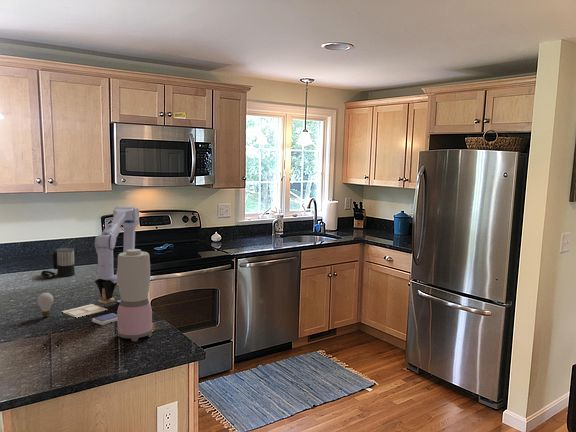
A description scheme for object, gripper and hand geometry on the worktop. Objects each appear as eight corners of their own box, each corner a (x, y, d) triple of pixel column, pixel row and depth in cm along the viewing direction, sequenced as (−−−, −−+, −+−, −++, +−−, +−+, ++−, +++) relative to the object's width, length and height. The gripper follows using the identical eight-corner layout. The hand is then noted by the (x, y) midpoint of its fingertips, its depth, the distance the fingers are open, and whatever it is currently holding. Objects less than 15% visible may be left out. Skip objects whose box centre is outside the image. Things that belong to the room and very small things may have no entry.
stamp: (107, 300, 191) (106, 286, 190) (114, 302, 189) (114, 287, 188) (97, 302, 187) (97, 288, 186) (105, 304, 185) (105, 290, 184)
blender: (159, 335, 174) (158, 250, 170) (129, 344, 164) (128, 254, 161) (135, 325, 184) (133, 245, 180) (106, 333, 174) (104, 249, 171)
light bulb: (38, 315, 193) (38, 291, 192) (54, 313, 195) (54, 290, 194) (36, 319, 188) (35, 295, 187) (53, 318, 190) (52, 294, 189)
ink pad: (112, 315, 194) (111, 312, 194) (122, 319, 190) (122, 315, 190) (92, 321, 187) (91, 317, 187) (102, 325, 183) (101, 321, 183)
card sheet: (92, 304, 209) (92, 303, 209) (107, 309, 202) (107, 309, 202) (61, 312, 198) (61, 311, 198) (76, 318, 191) (76, 317, 191)
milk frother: (78, 273, 266) (78, 248, 264) (62, 280, 250) (61, 253, 249) (55, 272, 268) (54, 247, 266) (37, 279, 252) (36, 252, 251)
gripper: (86, 263, 187) (87, 296, 189) (107, 268, 179) (108, 303, 180) (102, 260, 193) (103, 292, 195) (123, 265, 185) (124, 299, 186)
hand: (106, 297), depth 188 cm, fingers closed on stamp, 3 cm apart
